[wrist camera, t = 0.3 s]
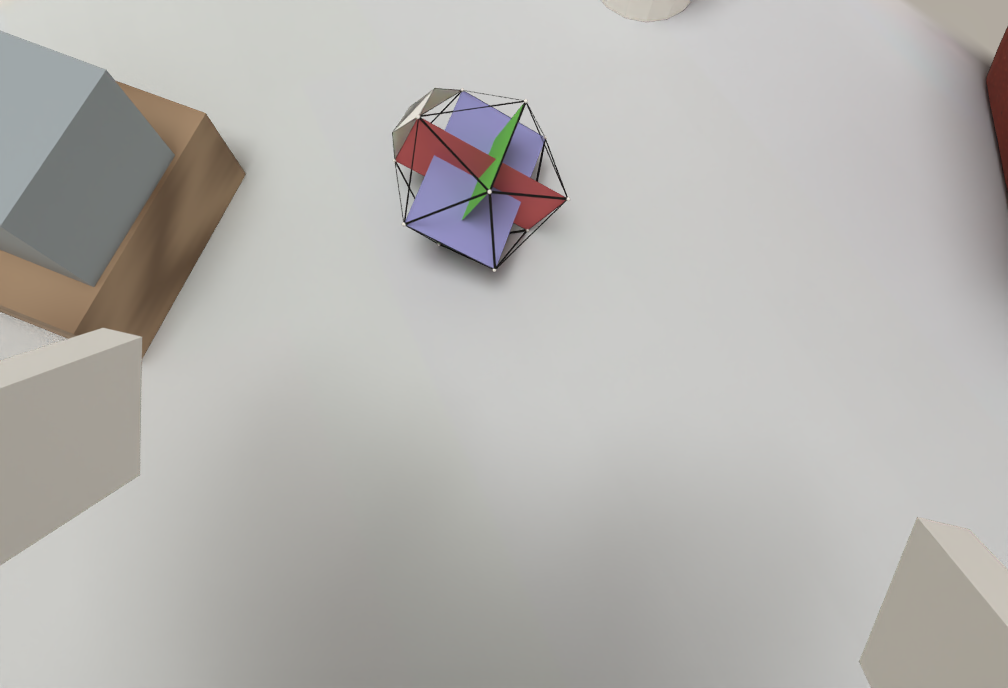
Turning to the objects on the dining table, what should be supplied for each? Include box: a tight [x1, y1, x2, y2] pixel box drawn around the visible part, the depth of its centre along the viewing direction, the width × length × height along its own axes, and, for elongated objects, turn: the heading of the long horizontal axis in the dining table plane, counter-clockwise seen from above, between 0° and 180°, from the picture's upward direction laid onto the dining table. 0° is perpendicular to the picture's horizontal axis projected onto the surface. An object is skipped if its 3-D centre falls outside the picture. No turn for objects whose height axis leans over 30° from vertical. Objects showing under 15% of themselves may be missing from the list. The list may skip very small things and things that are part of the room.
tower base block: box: [0, 81, 246, 358], centre depth 28 cm, size 10×10×5 cm
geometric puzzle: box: [392, 88, 570, 272], centre depth 28 cm, size 7×7×8 cm
